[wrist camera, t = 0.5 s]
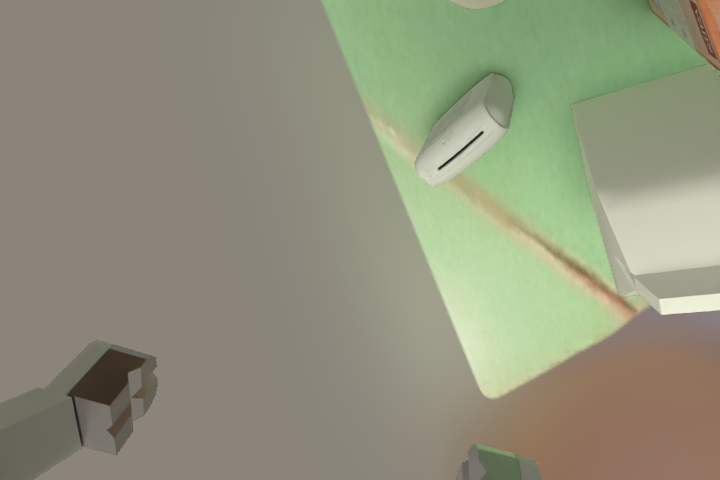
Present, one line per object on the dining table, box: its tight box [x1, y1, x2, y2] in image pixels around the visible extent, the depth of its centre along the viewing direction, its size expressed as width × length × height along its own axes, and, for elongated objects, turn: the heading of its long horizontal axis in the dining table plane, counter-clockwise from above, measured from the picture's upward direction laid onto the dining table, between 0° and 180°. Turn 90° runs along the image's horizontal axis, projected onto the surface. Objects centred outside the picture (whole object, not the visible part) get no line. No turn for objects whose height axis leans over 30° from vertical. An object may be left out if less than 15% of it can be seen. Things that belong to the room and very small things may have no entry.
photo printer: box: [415, 73, 515, 186], centre depth 47 cm, size 10×4×12 cm, turn 140°
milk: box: [571, 63, 720, 315], centre depth 37 cm, size 12×12×26 cm
